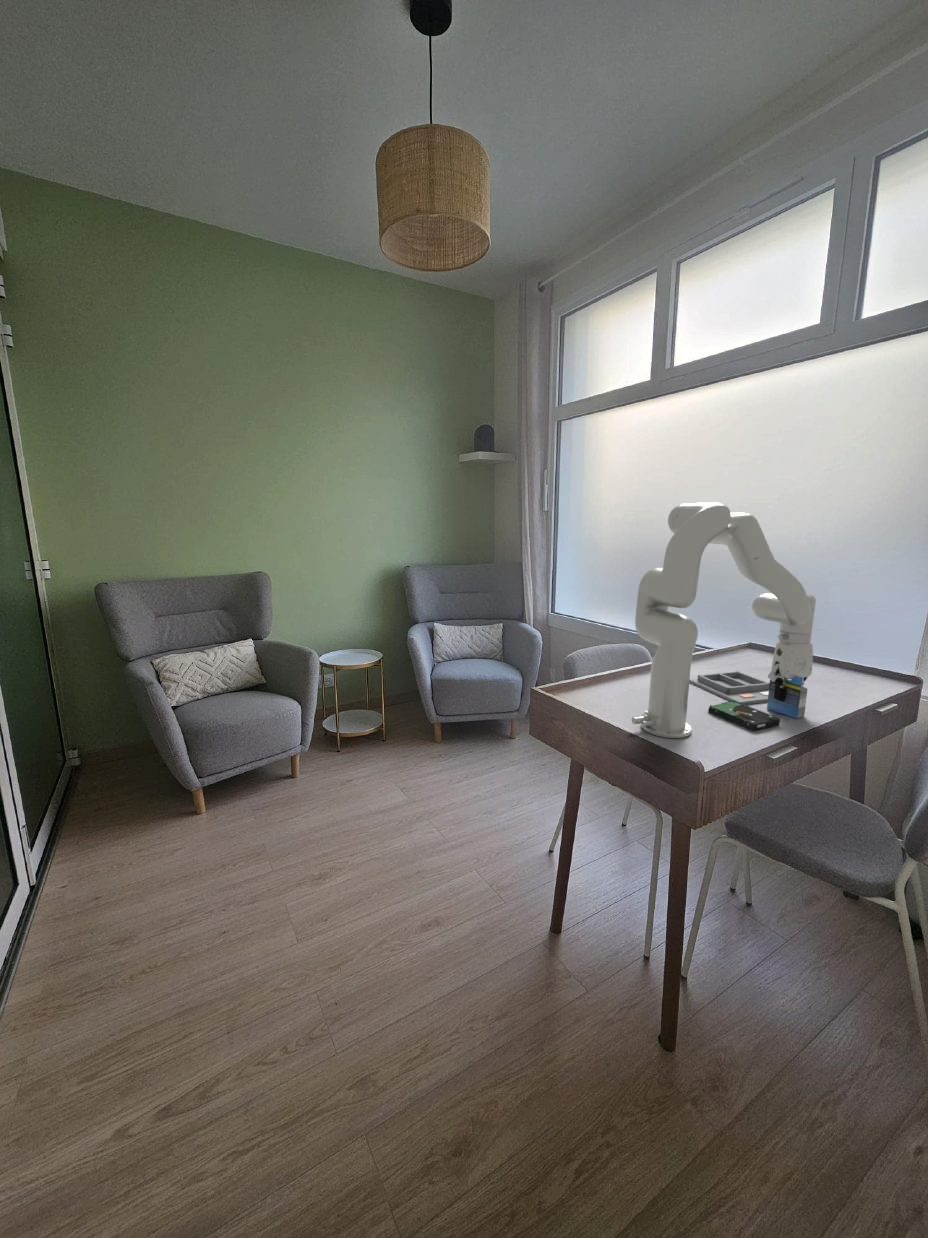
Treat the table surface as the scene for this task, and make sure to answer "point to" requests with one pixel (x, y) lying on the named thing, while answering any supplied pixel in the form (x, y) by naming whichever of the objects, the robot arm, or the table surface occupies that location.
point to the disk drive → (744, 716)
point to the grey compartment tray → (734, 687)
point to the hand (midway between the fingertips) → (786, 698)
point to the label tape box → (789, 698)
